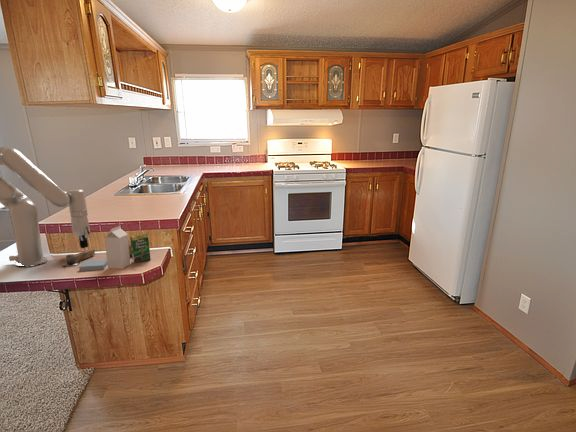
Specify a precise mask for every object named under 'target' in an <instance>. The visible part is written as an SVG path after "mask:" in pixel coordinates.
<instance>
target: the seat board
mask: <svg viewBox="0 0 576 432" xmlns="http://www.w3.org/2000/svg"><path fill="white" fill-rule="evenodd" d="M106 267H108V265H107V258H106V259H89V260H88V259H87V260H84V262H83V263H82V264H80V265H79V267H78V268H79V272H84V271H85V272H86V271H87V272H88V271H97V270H98V271H99V270H105V269H106Z"/></svg>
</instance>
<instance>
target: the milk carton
mask: <svg viewBox="0 0 576 432" xmlns="http://www.w3.org/2000/svg"><path fill="white" fill-rule="evenodd" d="M128 240H129V234H128V233H127V232H126V231H124V230H123V229H122V228H121V225H119V226H117V227H113V228H111V229H110V230H109V231H108V234H107V235H106V236H105V237H104V244H105V253H106V259H107V269H120V270H121V269H124V268H126V267H127V266H129V265H130V264H131V259H130V255H129V243H128Z"/></svg>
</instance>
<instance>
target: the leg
mask: <svg viewBox="0 0 576 432" xmlns="http://www.w3.org/2000/svg"><path fill="white" fill-rule="evenodd" d="M95 253H96V251H95V249H94V248H93V249H92V248H90V249H88V250H86V249H85V250H84V251H82V252H78V253H76V254H67V255H66V257H65V258H66V263H67V264H68V265H70V264H74V263H76V262H80V261H84V260H85V259H88V258H90V257H93V256H95V255H96V254H95Z"/></svg>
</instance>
